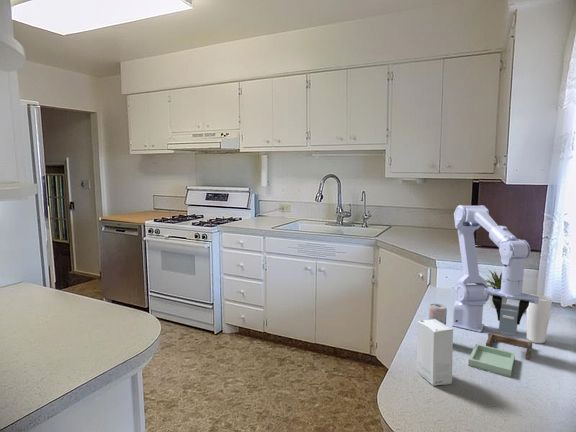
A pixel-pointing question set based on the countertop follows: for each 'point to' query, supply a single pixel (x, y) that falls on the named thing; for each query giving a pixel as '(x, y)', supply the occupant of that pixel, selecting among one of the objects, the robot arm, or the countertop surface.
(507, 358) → the tray
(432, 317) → the energy drink
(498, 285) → the house plant
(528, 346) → the frame
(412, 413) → the countertop surface
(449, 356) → the skincare box
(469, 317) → the robot arm
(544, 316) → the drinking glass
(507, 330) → the grey box with handle
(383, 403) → the countertop surface
